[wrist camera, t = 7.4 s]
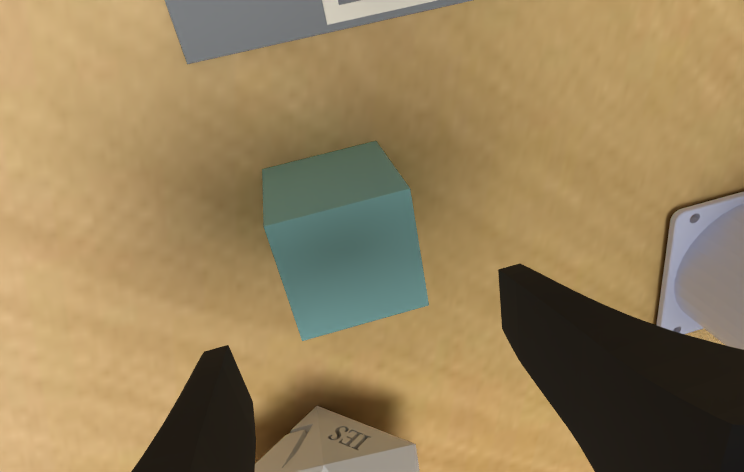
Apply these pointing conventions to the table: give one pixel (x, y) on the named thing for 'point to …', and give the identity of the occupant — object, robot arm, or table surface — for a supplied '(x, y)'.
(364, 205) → the teal block
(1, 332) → the table surface
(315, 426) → the die
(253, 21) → the grey board with square
